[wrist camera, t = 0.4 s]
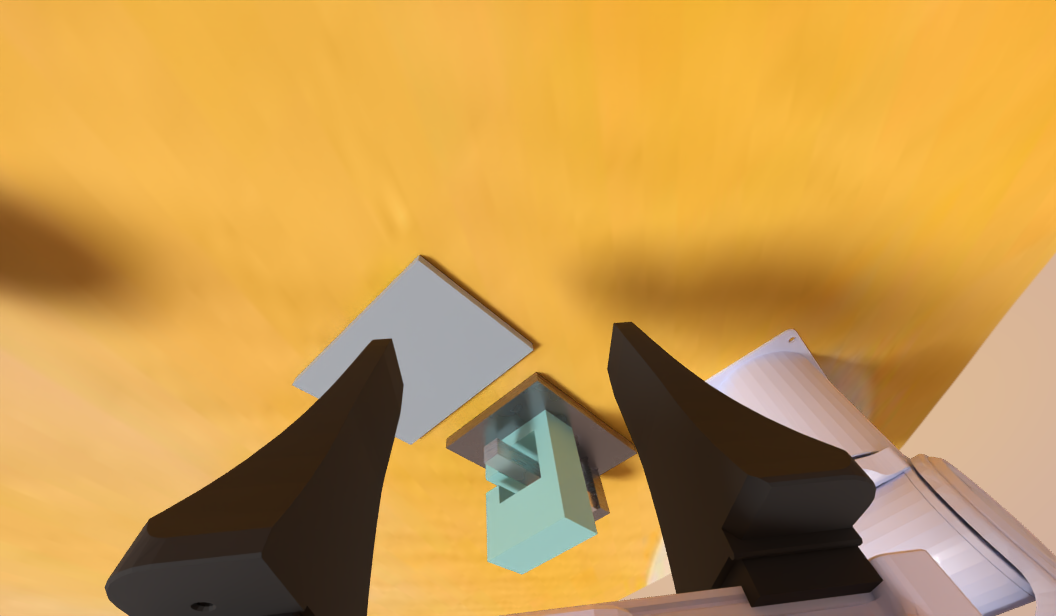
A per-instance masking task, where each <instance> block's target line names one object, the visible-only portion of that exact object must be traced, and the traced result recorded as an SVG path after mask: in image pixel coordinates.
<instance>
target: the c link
mask: <svg viewBox="0 0 1056 616" xmlns="http://www.w3.org/2000/svg"><path fill="white" fill-rule="evenodd" d="M501 441H503V442H504V443H506V444H508V445H510V446H511V447H513V448H515V449H516V450H518V451H520V452H522V453H523V454H525V455H527V456H528V457H530V458H532V459H534V460H535V461H537V462H539V466H540V473H541V478H540V479H538V480H536V481H535V482H533V483H532V484H530V485H528V486H526V485H524V484H522V483H520V482H518V481H516V480H514V479H513V478H511V477H509V476H507V475H505V474H503V473H501V472H499V471H498V470H496V469H494V468H492V467H490V466H488V465H486V480H487V481H489V482H491V483H493V484H495V485H497V486H496V487H495V488H493V489H492V490H490V491H489V492H487V493H486V511H487V561H488V562H490V563H493V564H495V565H498V566H501V567H503V568H506V569H509V570H511V571H514V572H517V573H519V574H524V573H526V572H528V571H529V570H531V569H533V568H535V567H537V566H539V565H541V564H543V563H544V562H546V561H548V560H550V559H552V558H554V557H556V556H557V555H559V554H561V553H563V552H565V551H567V550H569V549H570V548H572V547H574V546H576V545H578V544H580V543H582V542H583V541H585V540H587V539H589V538H591V537H593V536H595V535H596V534H597V530H596V526H595V521H594V517H593V513H592V509H591V505H590V501H589V496H588V492H587V488H586V484H585V480H584V476H583V471H582V467H581V463H580V459H579V455H578V451H577V446H576V442H575V438H574V434H573V430H572V428H571V427H570V426H568V425H567V424H566V423H564V422H563V421H561V420H560V419H558V418H557V417H555V416H554V415H552V414H551V413H549V412H548V411H547V410H544V411H543V412H541V413H540V414H538V415H537V416H536V417H534V418H533V419H531V420H530V421H528V422H527V423H526V424H524V425H523V426H521V427H520V428H518V429H517V430H516V431H514V432H513V433H511V434H510V435H508V436H507V437H505V438H504V439H503V440H501Z"/></svg>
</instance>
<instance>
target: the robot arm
mask: <svg viewBox="0 0 1056 616" xmlns="http://www.w3.org/2000/svg"><path fill="white" fill-rule="evenodd" d="M792 337H795V338H794V339H793V340H792V341H789V339H790V338H792ZM607 370H608V374H609V378H610V382H611V385H612V389H613V393H614V396H615V399H616V401H617V404H618V406H619V408H620V411H621V413H622V416H623V418H624V421H625V423H626V425H627V428H628V430H629V433H630V435H631V437H632V440H633V442H634V445H635V447H636V449H637V452H638V454H639V457H640V460H641V463H642V465H643V468H644V472H645V475H646V479H647V482H648V485H649V489H650V492H651V495H652V499H653V503H654V506H655V510H656V513H657V517H658V521H659V524H660V528H661V532H662V536H663V540H664V544H665V548H666V552H667V556H668V560H669V564H670V568H671V573H672V577H673V581H674V585H675V590H676V594H673V595H664V596H656V597H647V598H640V599H632V600H624V601H615V602H607V603H598V604H590V605H582V606H574V607H566V608H558V609H550V610H541V611H533V612H525V613H517V614H509V615H501V616H996V615H999V614H1001V613H1004V612H1006V611H1009V610H1012V609H1014V608H1017V607H1020V606H1023V605H1025V604H1028V603H1031V602H1033V601H1036V603H1037V607H1036V615H1035V616H1056V556H1055V555H1054V554H1053V553H1052V552H1051V551H1050V550H1049V549H1048V548H1047V547H1046V546H1045V545H1044V544H1043V543H1042V542H1041V541H1040V540H1039V539H1037V538H1036V537H1035V536H1034V535H1033V534H1032V533H1031V532H1030V531H1029V530H1028V529H1027V528H1026V527H1024V525H1022V524H1021V523H1020V522H1019V521H1018V520H1017V519H1016V518H1015V517H1014V516H1012V515H1011V514H1010V513H1009V512H1008V511H1007V510H1006V509H1005V508H1003V507H1002V506H1001V505H1000V504H999V503H998V502H997V501H995V500H994V499H993V498H992V497H991V496H989V495H988V494H987V493H986V492H985V491H984V490H982V489H981V488H980V487H979V486H978V485H977V484H975V483H974V482H973V481H972V480H971V479H969V478H968V477H967V476H966V475H964V474H963V473H962V472H961V471H959V470H958V469H957V468H955V467H954V466H953V465H951V464H950V463H948V462H947V461H946V460H944V459H941V458H936V457H928V456H927V455H924V454H918V455H917V456H915V457H913V458H911V459H910V458H908V457H906V456H905V455H903V454H902V453H901V452H900V451H899V450H898V449H897V448H896V447H895V446H894V445H893V444H892V443H891V442H890V441H889V440H888V439H887V438H886V437H885V436H884V435H883V434H882V433H881V432H880V431H879V430H878V429H877V428H876V427H875V426H874V425H873V424H872V423H871V422H870V421H869V420H868V419H867V418H866V417H865V416H864V415H863V414H862V413H861V412H860V411H859V410H858V409H857V408H856V407H855V406H854V405H853V404H852V403H851V402H850V401H849V400H848V399H847V398H846V397H845V396H844V395H843V394H842V393H841V392H840V391H839V390H838V389H837V388H836V387H835V386H834V385H833V384H832V383H831V382H830V381H829V380H828V378H827V377H826V375H825V374H824V372H823V371H822V369H821V368H820V366H819V365H818V363H817V362H816V360H815V359H814V357H813V356H812V354H811V353H810V351H809V350H808V348H807V347H806V345H805V344H804V342H803V341H802V339H801V338H800V336H799V335H798V333H797V332H796V331H795V330H794V329H788V330H786V331H784V332H782V333H781V334H779V335H778V336H776V337H774V338H773V339H771V340H770V341H768V342H766V343H765V344H763V345H762V346H760V347H758V348H757V349H755V350H754V351H752V352H750V353H749V354H747V355H746V356H744V357H742V358H741V359H739V360H737V361H736V362H734V363H733V364H731V365H729V366H728V367H726V368H725V369H723V370H721V371H720V372H718V373H717V374H715V375H713V376H712V377H710V378H709V379H707V380H705V381H703V380H702V379H701V378H699V377H698V376H697V375H695V374H694V373H692V372H691V371H690V370H688V369H687V368H686V367H684V366H683V365H682V364H681V363H679V362H678V361H677V360H675V359H674V358H673V357H672V356H671V355H669V354H668V353H667V352H666V351H665V350H663V349H662V348H661V347H660V346H659V345H657V344H656V343H655V342H654V341H653V340H652V339H651V338H649V337H648V336H647V335H646V334H645V333H644V332H643V331H642V330H640V329H639V328H638V327H637V326H636V325H635V324H633V323H632V322H624V323H614V324H613V332H612V339H611V346H610V354H609V361H608V368H607ZM403 388H404V384H403V380H402V376H401V372H400V368H399V364H398V360H397V356H396V352H395V348H394V344H393V340H392V338H389V339H375V340H372V341H371V342H370V343H369V344H368V345H367V346H366V347H365V348H364V350H363V351H362V352H361V353H360V354H359V355H358V357H357V358H356V359H355V360H354V361H353V363H352V364H351V365H350V366H349V367H348V368H347V369H346V371H345V372H344V373H343V374H342V375H341V376H340V377H339V378H338V379H337V381H336V382H335V383H334V384H333V385H332V386H331V387H330V388H329V389H328V390H327V391H326V392H325V393H324V394H323V395H322V396H321V397H320V398H319V399H318V400H317V401H316V402H315V403H314V404H313V405H312V406H311V407H310V408H309V409H308V410H307V411H306V412H305V413H304V414H303V415H302V416H301V417H300V418H298V419H297V420H296V421H295V422H294V423H293V424H291V425H290V426H289V427H288V428H287V429H286V430H284V431H283V432H282V433H281V434H280V435H278V436H277V437H276V438H274V439H273V440H272V441H270V442H269V443H268V444H266V445H265V446H264V447H262V448H261V449H260V450H259V451H257V452H256V453H255V454H253V455H252V456H251V457H249V458H248V459H246V460H245V461H244V462H242V463H241V464H239V465H238V466H236V467H235V468H233V469H232V470H230V471H229V472H227V473H226V474H224V475H223V476H221V477H220V478H218V479H217V480H215V481H214V482H212V483H210V484H209V485H207V486H206V487H204V488H202V489H201V490H199V491H197V492H196V493H194V494H192V495H191V496H189V497H187V498H185V499H184V500H182V501H180V502H179V503H177V504H175V505H173V506H172V507H170V508H168V509H166V510H165V511H163V512H161V513H159V514H158V515H156V516H154V517H152V518H150V519H149V521H148V522H147V523H146V525H145V526H144V527H143V529H142V530H141V532H140V533H139V535H138V536H137V538H136V539H135V541H134V542H133V543H132V545H131V546H130V548H129V549H128V551H127V552H126V554H125V555H124V557H123V558H122V560H121V561H120V563H119V564H118V566H117V567H116V568H115V570H114V571H113V573H112V574H111V576H110V577H109V579H108V581H107V583H106V585H105V590H106V593H107V596H108V599H109V600H110V601H111V602H112V603H113V604H114V605H115V606H116V607H118V608H119V609H120V610H122V611H123V612H125V613H126V614H128V615H129V616H367V607H368V596H369V586H370V577H371V568H372V558H373V550H374V542H375V534H376V527H377V519H378V512H379V505H380V499H381V492H382V487H383V482H384V477H385V473H386V469H387V465H388V462H389V458H390V454H391V450H392V446H393V442H394V438H395V434H396V430H397V426H398V422H399V418H400V413H401V406H402V397H403Z"/></svg>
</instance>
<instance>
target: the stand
mask: <svg viewBox="0 0 1056 616" xmlns="http://www.w3.org/2000/svg"><path fill="white" fill-rule="evenodd" d="M544 410H547V411H548V412H549V413H551V414H552V415H554V416H555V417H557V418H558V419H560V420H561V421H563V422H564V423H566V424H567V425H568V426H570V427H571V428H572V430H573V434H574V438H575V442H576V446H577V451H578V455H579V459H580V463H581V467H582V471H583V476H584V480H585V484H586V488H587V492H588V496H589V501H590V505H591V509H592V513H593V517H594V521H596V520H598V519H600V518H602V517H604V516H606V515H607V514H609V513H610V512H609V508H608V505H607V501H606V497H605V494H604V490H603V487H602V483H601V479H600V475H601V474H603V473H605V472H606V471H608V470H610V469H611V468H613V467H615V466H616V465H618V464H620V463H621V462H623V461H625V460H627V459H628V458H630V457H632V456H633V455H635V454H637V451H636V449H635V446H634V444H632V443H631V442H630V441H628V440H627V439H626V438H624V437H623V436H621V435H620V434H619V433H617V432H616V431H615V430H613V429H612V428H611V427H609V426H608V425H607V424H605V423H604V422H603V421H601V420H600V419H599V418H597V417H596V416H594V415H593V414H592V413H590V412H589V411H588V410H586V409H585V408H584V407H582V406H581V405H580V404H578V403H577V402H576V401H574V400H573V399H572V398H570V397H569V396H567V395H566V394H565V393H563V392H562V391H561V390H559V389H558V388H557V387H555V386H554V385H553V384H551V383H550V382H549V381H547V380H546V379H544V378H543V377H542V376H540V375H539V374H538V373H534V374H533V375H532V376H530V377H529V378H528V379H526V380H525V381H524V382H522V383H521V384H520V385H518V386H517V387H516V388H514V389H513V390H512V391H510V392H509V393H508V394H506V395H505V396H504V397H502V398H501V399H499V400H498V401H497V402H495V403H494V404H493V405H491V406H490V407H489V408H487V409H486V410H485V411H483V412H482V413H481V414H479V415H478V416H477V417H475V418H474V419H473V420H471V421H470V422H469V423H467V424H466V425H465V426H463V427H462V428H461V429H459V430H458V431H457V432H455V433H454V434H453V435H451V436H450V437H449V438H447V442H446V448H447V449H449V450H451V451H453V452H455V453H457V454H458V455H460V456H462V457H464V458H466V459H468V460H470V461H472V462H474V463H476V464H478V465H480V466H481V467H483V468H485V469H486V465H488V466H490V467H492V468H494V469H496V470H498V471H499V472H501V473H503V474H505V475H507V476H509V477H511V478H513V479H514V480H516V481H518V482H520V483H522V484H524V485H526V486H528V485H530V484H532V483H533V482H535V481H536V480H538V479H540V478H541V473H540V466H539V462H537V461H535V460H534V459H532V458H530V457H528V456H527V455H525V454H523V453H522V452H520V451H518V450H516V449H515V448H513V447H511V446H510V445H508V444H506V443H504V442H503V441H501V440H503V439H504V438H505V437H507V436H508V435H510V434H511V433H513V432H514V431H516V430H517V429H518V428H520V427H521V426H523V425H524V424H526V423H527V422H528V421H530V420H531V419H533V418H534V417H536V416H537V415H538V414H540V413H541V412H543V411H544Z"/></svg>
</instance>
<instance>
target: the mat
mask: <svg viewBox="0 0 1056 616" xmlns="http://www.w3.org/2000/svg"><path fill="white" fill-rule="evenodd" d="M389 338H392V340H393V344H394V348H395V352H396V356H397V360H398V364H399V368H400V372H401V376H402V380H403V384H404V388H403V397H402V406H401V413H400V418H399V422H398V426H397V430H396V434H395V437H397V438H399V439H401V440H403V441H405V442H407V443H409V444H413V443H414V442H415V441H416V440H418V439H419V438H420V437H422V436H423V435H424V434H425V433H427V432H428V431H429V430H431V429H432V428H433V427H435V426H436V425H437V424H438V423H440V422H441V421H442V420H444V419H445V418H446V417H447V416H449V415H450V414H451V413H453V412H454V411H455V410H457V409H458V408H459V407H460V406H462V405H463V404H464V403H466V402H467V401H468V400H469V399H471V398H472V397H473V396H475V395H476V394H477V393H479V392H480V391H481V390H482V389H484V388H485V387H486V386H488V385H489V384H490V383H491V382H493V381H494V380H495V379H497V378H498V377H499V376H501V375H502V374H503V373H504V372H506V371H507V370H508V369H510V368H511V367H512V366H513V365H515V364H516V363H517V362H519V361H520V360H521V359H523V358H524V357H525V356H526V355H528V354H529V353H530V352H532V351H533V350H534V349H533V344H532V343H531V342H530V341H528V340H527V339H526V338H524V337H523V336H522V335H521V334H519V333H518V332H517V331H516V330H514V329H513V328H512V327H510V326H509V325H508V324H507V323H505V322H504V321H503V320H502V319H500V318H499V317H498V316H496V315H495V314H494V313H493V312H491V311H490V310H489V309H488V308H486V307H485V306H484V305H482V304H481V303H480V302H479V301H477V300H476V299H475V298H474V297H472V296H471V295H470V294H468V293H467V292H466V291H465V290H463V289H462V288H461V287H460V286H458V285H457V284H456V283H454V282H453V281H452V280H451V279H449V278H448V277H447V276H446V275H444V274H443V273H442V272H440V271H439V270H438V269H437V268H435V267H434V266H433V265H432V264H430V263H429V262H428V261H426V260H425V259H424V258H423V257H421V256H420V255H419V256H418V257H417V258H416V259H415V260H414V261H413V262H412V263H411V264H410V265H409V266H408V267H407V268H406V269H405V270H404V271H403V272H402V273H401V274H400V275H399V276H398V277H397V278H396V279H395V280H394V281H393V282H392V283H391V284H390V285H389V286H388V287H387V288H386V289H385V290H384V291H383V292H382V293H381V294H380V295H379V296H378V297H377V298H376V299H375V300H374V301H373V302H372V303H371V304H370V305H369V306H368V307H367V308H366V309H365V310H364V311H363V312H362V313H361V314H360V315H359V316H358V317H357V318H356V319H355V320H354V321H353V322H352V323H351V324H350V325H349V326H348V327H347V328H346V329H345V330H344V331H343V332H342V333H341V334H340V335H339V336H338V337H337V338H336V339H335V340H334V341H333V342H332V343H331V344H330V345H329V346H328V347H327V348H326V349H325V350H324V351H323V352H322V353H321V354H320V355H319V356H318V357H317V358H316V359H315V360H314V361H313V362H312V363H311V364H310V365H309V366H308V367H307V368H306V369H305V370H304V371H303V372H302V373H301V374H300V375H299V376H298V377H297V378H296V379H295V381H294V383H293V384H292V385H293V386H295V387H297V388H299V389H301V390H303V391H305V392H307V393H309V394H311V395H313V396H315V397H317V398H320V397H321V396H322V395H323V394H324V393H325V392H326V391H327V390H328V389H329V388H330V387H331V386H332V385H333V384H334V383H335V382H336V381H337V379H338V378H339V377H340V376H341V375H342V374H343V373H344V372H345V371H346V369H347V368H348V367H349V366H350V365H351V364H352V363H353V361H354V360H355V359H356V358H357V357H358V355H359V354H360V353H361V352H362V351H363V350H364V348H365V347H366V346H367V345H368V344H369V343H370V342H371V341H372V340H375V339H389Z"/></svg>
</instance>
